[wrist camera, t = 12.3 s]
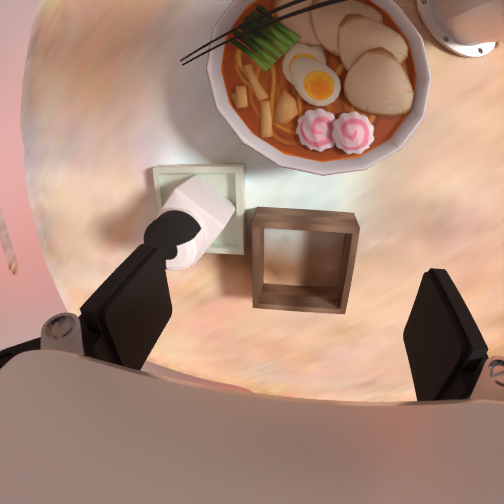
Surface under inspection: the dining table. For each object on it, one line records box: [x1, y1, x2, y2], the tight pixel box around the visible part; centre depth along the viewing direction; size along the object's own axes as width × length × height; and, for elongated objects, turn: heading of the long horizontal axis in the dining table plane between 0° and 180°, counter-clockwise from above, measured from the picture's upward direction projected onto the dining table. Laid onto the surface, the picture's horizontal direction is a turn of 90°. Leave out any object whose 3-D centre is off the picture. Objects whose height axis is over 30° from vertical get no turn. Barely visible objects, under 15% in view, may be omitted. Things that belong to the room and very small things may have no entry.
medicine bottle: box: [144, 175, 236, 271], centre depth 36 cm, size 7×7×12 cm
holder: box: [252, 207, 360, 314], centre depth 40 cm, size 13×13×5 cm
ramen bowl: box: [180, 0, 431, 176], centre depth 27 cm, size 25×23×8 cm
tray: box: [152, 164, 246, 255], centre depth 41 cm, size 12×12×2 cm
